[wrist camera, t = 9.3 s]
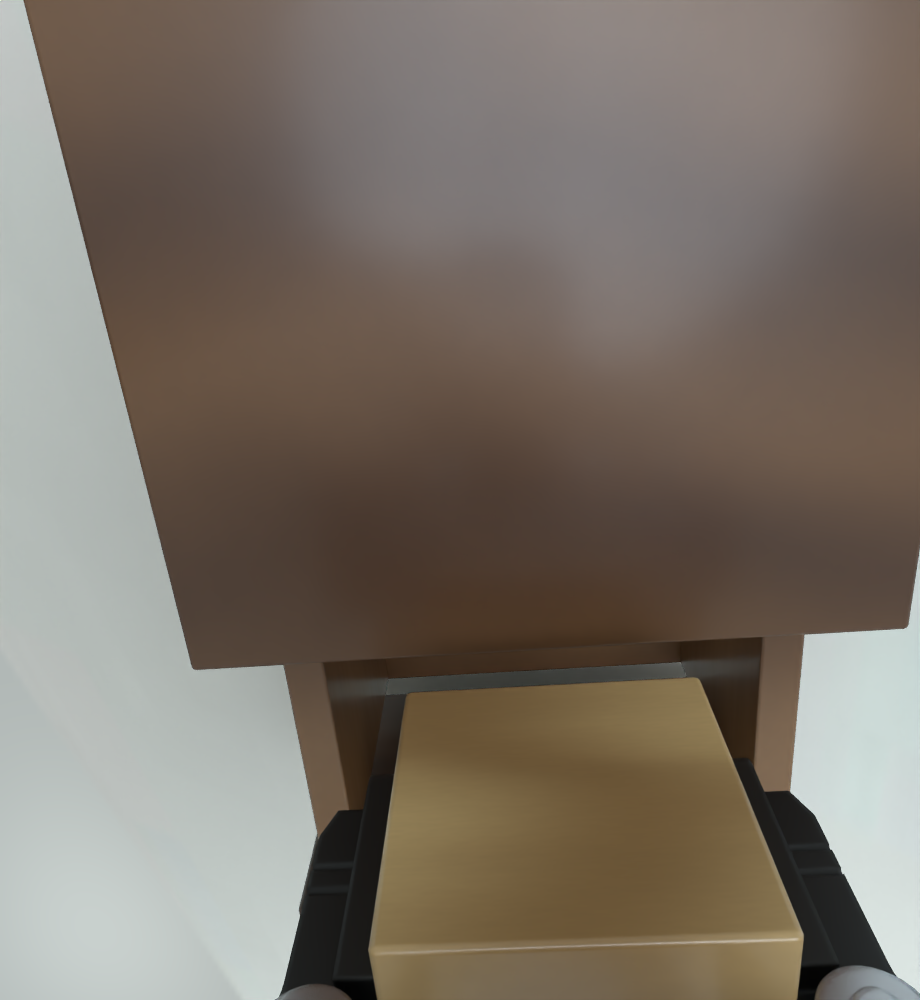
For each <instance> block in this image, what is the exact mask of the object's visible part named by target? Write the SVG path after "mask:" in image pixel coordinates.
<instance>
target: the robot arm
mask: <svg viewBox="0 0 920 1000" xmlns="http://www.w3.org/2000/svg"><path fill="white" fill-rule="evenodd" d="M732 760H733V762H734V765H735V767H736V770H737V772H738V775H739V777H740V780H741V782H742V784H743V787H744V789H745V792H746V794H747V797H748V799H749V802H750V804H751V807H752V809H753V811H754V814H755V816H756V819H757V821H758V824H759V826H760V829H761V831H762V833H763V836H764V838H765V841H766V843H767V846H768V848H769V851H770V853H771V856H772V858H773V860H774V863H775V865H776V868H777V870H778V873H779V875H780V878H781V880H782V883H783V885H784V887H785V890H786V892H787V895H788V897H789V900H790V902H791V905H792V907H793V910H794V912H795V914H796V917H797V919H798V922H799V924H800V927H801V929H802V932H803V934H804V941H803V950H802V959H801V968H800V978H799V987H798V996H797V1000H920V993H918V992H917V991H916V990H915V989H914V988H913V987H912V986H910V985H909V984H907V983H906V982H905V981H903V980H901V979H900V978H898V977H897V976H896V975H895V974H894V972H893V970H892V969H891V967H890V965H889V963H888V961H887V959H886V957H885V955H884V953H883V951H882V949H881V947H880V945H879V943H878V941H877V939H876V937H875V935H874V933H873V931H872V929H871V927H870V925H869V923H868V921H867V919H866V917H865V915H864V913H863V911H862V909H861V907H860V905H859V903H858V901H857V899H856V897H855V895H854V893H853V891H852V889H851V887H850V885H849V883H848V881H847V879H846V877H845V875H844V874H842V872H841V867H840V865H839V863H838V861H837V859H836V857H835V855H834V853H833V851H832V850H830V848H829V843H828V841H827V839H826V837H825V835H824V833H823V831H822V829H821V827H820V825H819V823H818V821H817V819H816V817H815V815H814V814H813V813H812V812H811V811H810V810H809V809H808V808H806V807H805V806H804V805H803V804H802V803H801V802H800V801H799V800H798V799H797V798H796V797H795V796H794V795H793V794H791V793H790V792H789V791H766V792H764V789H763V787H762V785H761V782H760V780H759V778H758V776H757V773H756V771H755V769H754V767H753V764H752V762H751V761H750V760H749V759H748V758H732ZM393 779H394V774H385V775H371V776H370V779H369V782H368V787H367V793H366V798H365V803H364V809H360V810H338V812H337V813H336V814H335V816H334V817H333V819H332V820H331V821H330V823H329V824H328V825H327V827H326V828H325V829H324V831H323V832H322V833H321V835H320V836H319V840H318V845H317V849H316V853H315V857H314V861H313V870H312V871H311V873H310V878H309V882H308V886H307V895H305V898H304V902H303V907H302V911H301V915H300V919H299V923H298V927H297V931H296V936H295V940H294V944H293V948H292V952H291V956H290V960H289V964H288V969H287V973H286V977H285V981H284V985H283V988H282V991H281V993H280V995H279V997H278V998H277V999H276V1000H377V995H376V990H375V985H374V979H373V974H372V968H371V963H370V957H369V952H368V948H369V941H370V935H371V928H372V921H373V914H374V907H375V901H376V894H377V887H378V880H379V874H380V867H381V860H382V853H383V847H384V840H385V833H386V826H387V819H388V813H389V806H390V799H391V792H392V786H393Z"/></svg>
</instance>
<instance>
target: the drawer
mask: <svg viewBox="0 0 920 1000" xmlns="http://www.w3.org/2000/svg"><path fill="white" fill-rule="evenodd" d="M803 644H804V635H787V636H770V637H752V638H735V639H718V640H701V641H684V642H667V643H649V644H632V645H615V646H598V647H581V648H563V649H546V650H529V651H512V652H495V653H478V654H460V655H443V656H426V657H409V658H392V659H375V660H357V661H340V662H323V663H306V664H289V665H284V670H285V675H286V679H287V684H288V689H289V694H290V699H291V704H292V709H293V714H294V719H295V724H296V729H297V734H298V739H299V744H300V749H301V754H302V759H303V764H304V769H305V774H306V779H307V784H308V789H309V794H310V799H311V804H312V809H313V814H314V819H315V824H316V829H317V837H316V841H315V845H314V849H313V853H312V857H311V861H310V865H309V869H308V874H307V878H306V882H305V886H304V890H303V894H302V898H301V902H300V906H299V912H300V915H301V911H302V907H303V902H304V898H305V895H307V886H308V882H309V878H310V873H311V871H312V870H313V861H314V857H315V853H316V849H317V845H318V840H319V836H320V835H321V833H322V832H323V831H324V829H325V828H326V827H327V825H328V824H329V823H330V821H331V820H332V819H333V817H334V816H335V814H336V813H337V812H338V810H360V809H364V803H365V798H366V793H367V787H368V782H369V779H370V776H371V775H385V774H394V772H395V765H396V759H397V752H398V745H399V738H400V731H401V725H402V718H403V711H404V704H405V699H406V696H407V694H397V695H386V690H387V684H388V679H391V678H408V677H426V676H444V675H461V674H479V673H496V672H514V671H532V670H549V669H567V668H584V667H602V666H619V665H637V664H655V663H672V662H681V664H682V667H683V669H684V672H685V674H686V677H695V678H698V679H699V680H700V682H701V684H702V686H703V689H704V691H705V694H706V696H707V699H708V701H709V704H710V706H711V708H712V711H713V713H714V716H715V718H716V721H717V723H718V726H719V728H720V730H721V733H722V735H723V738H724V740H725V743H726V745H727V748H728V750H729V753H730V755H731V757H732V758H748V759H749V760H750V761H751V762H752V764H753V767H754V769H755V771H756V773H757V776H758V778H759V780H760V782H761V785H762V787H763V789H764V792H766V791H789V792H790V786H791V775H792V764H793V753H794V742H795V731H796V720H797V710H798V699H799V688H800V677H801V666H802V655H803Z"/></svg>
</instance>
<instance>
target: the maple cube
mask: <svg viewBox="0 0 920 1000" xmlns="http://www.w3.org/2000/svg"><path fill="white" fill-rule="evenodd" d="M803 941H804V934H803V932H802V929H801V927H800V924H799V922H798V919H797V917H796V914H795V912H794V910H793V907H792V905H791V902H790V900H789V897H788V895H787V892H786V890H785V887H784V885H783V883H782V880H781V878H780V875H779V873H778V870H777V868H776V865H775V863H774V860H773V858H772V856H771V853H770V851H769V848H768V846H767V843H766V841H765V838H764V836H763V833H762V831H761V829H760V826H759V824H758V821H757V819H756V816H755V814H754V811H753V809H752V807H751V804H750V802H749V799H748V797H747V794H746V792H745V789H744V787H743V784H742V782H741V780H740V777H739V775H738V772H737V770H736V767H735V765H734V762H733V760H732V757H731V755H730V753H729V750H728V748H727V745H726V743H725V740H724V738H723V735H722V733H721V730H720V728H719V726H718V723H717V721H716V718H715V716H714V713H713V711H712V708H711V706H710V704H709V701H708V699H707V696H706V694H705V691H704V689H703V686H702V684H701V682H700V680H699V679H698V678H695V677H686V678H668V679H649V680H630V681H612V682H593V683H575V684H556V685H538V686H519V687H501V688H482V689H464V690H445V691H427V692H411V693H408V694H407V696H406V699H405V704H404V711H403V718H402V725H401V731H400V738H399V745H398V752H397V759H396V765H395V772H394V779H393V786H392V792H391V799H390V806H389V813H388V819H387V826H386V833H385V840H384V847H383V853H382V860H381V867H380V874H379V880H378V887H377V894H376V901H375V907H374V914H373V921H372V928H371V935H370V941H369V948H368V952H369V957H370V963H371V968H372V974H373V979H374V985H375V990H376V995H377V1000H797V996H798V987H799V978H800V968H801V959H802V950H803Z"/></svg>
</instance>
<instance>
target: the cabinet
mask: <svg viewBox="0 0 920 1000" xmlns="http://www.w3.org/2000/svg"><path fill="white" fill-rule="evenodd" d="M24 4H25V8H26V12H27V16H28V20H29V24H30V28H31V32H32V36H33V40H34V44H35V48H36V52H37V56H38V59H39V63H40V67H41V71H42V75H43V79H44V83H45V87H46V91H47V95H48V99H49V103H50V107H51V111H52V115H53V119H54V123H55V127H56V131H57V135H58V139H59V143H60V147H61V150H62V154H63V158H64V162H65V166H66V170H67V174H68V178H69V182H70V186H71V190H72V194H73V198H74V202H75V206H76V210H77V214H78V218H79V222H80V226H81V230H82V234H83V238H84V241H85V245H86V249H87V253H88V257H89V261H90V265H91V269H92V273H93V277H94V281H95V285H96V289H97V293H98V297H99V301H100V305H101V309H102V313H103V317H104V321H105V325H106V329H107V332H108V336H109V340H110V344H111V348H112V352H113V356H114V360H115V364H116V368H117V372H118V376H119V380H120V384H121V388H122V392H123V396H124V400H125V404H126V408H127V412H128V416H129V420H130V423H131V427H132V431H133V435H134V439H135V443H136V447H137V451H138V455H139V459H140V463H141V467H142V471H143V475H144V479H145V483H146V487H147V491H148V495H149V499H150V503H151V507H152V511H153V515H154V518H155V522H156V526H157V530H158V534H159V538H160V542H161V546H162V550H163V554H164V558H165V562H166V566H167V570H168V574H169V578H170V582H171V586H172V590H173V594H174V598H175V602H176V606H177V609H178V613H179V617H180V621H181V625H182V629H183V633H184V637H185V641H186V645H187V649H188V653H189V657H190V661H191V665H192V668H193V669H195V670H203V669H220V668H237V667H254V666H271V665H289V664H306V663H323V662H340V661H357V660H375V659H392V658H409V657H426V656H443V655H460V654H478V653H495V652H512V651H529V650H546V649H563V648H581V647H598V646H615V645H632V644H649V643H667V642H684V641H701V640H718V639H735V638H752V637H770V636H787V635H804V634H821V633H838V632H855V631H873V630H890V629H904V628H907V626H908V624H909V617H910V610H911V603H912V597H913V590H914V583H915V577H916V570H917V563H918V556H919V550H920V0H24Z"/></svg>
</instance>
